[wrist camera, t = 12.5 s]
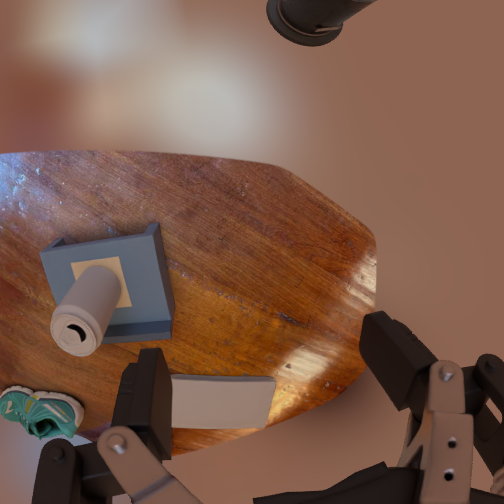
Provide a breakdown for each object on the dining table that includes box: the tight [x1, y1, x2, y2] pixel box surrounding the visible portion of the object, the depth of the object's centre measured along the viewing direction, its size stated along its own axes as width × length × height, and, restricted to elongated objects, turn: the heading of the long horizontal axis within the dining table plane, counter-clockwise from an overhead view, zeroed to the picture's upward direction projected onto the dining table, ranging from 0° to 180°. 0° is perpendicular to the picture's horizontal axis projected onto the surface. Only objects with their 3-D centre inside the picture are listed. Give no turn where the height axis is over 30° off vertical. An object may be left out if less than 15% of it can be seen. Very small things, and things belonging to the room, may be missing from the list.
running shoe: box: [0, 386, 85, 440], centre depth 45 cm, size 11×29×11 cm, turn 99°
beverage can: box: [50, 266, 121, 356], centre depth 31 cm, size 6×6×12 cm
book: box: [170, 374, 276, 429], centre depth 54 cm, size 15×23×4 cm, turn 80°
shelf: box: [39, 223, 175, 344], centre depth 38 cm, size 14×18×9 cm
